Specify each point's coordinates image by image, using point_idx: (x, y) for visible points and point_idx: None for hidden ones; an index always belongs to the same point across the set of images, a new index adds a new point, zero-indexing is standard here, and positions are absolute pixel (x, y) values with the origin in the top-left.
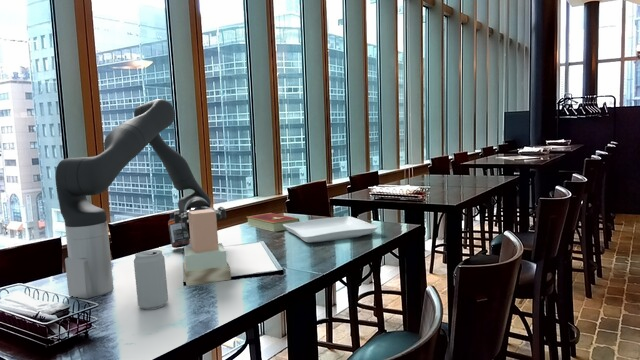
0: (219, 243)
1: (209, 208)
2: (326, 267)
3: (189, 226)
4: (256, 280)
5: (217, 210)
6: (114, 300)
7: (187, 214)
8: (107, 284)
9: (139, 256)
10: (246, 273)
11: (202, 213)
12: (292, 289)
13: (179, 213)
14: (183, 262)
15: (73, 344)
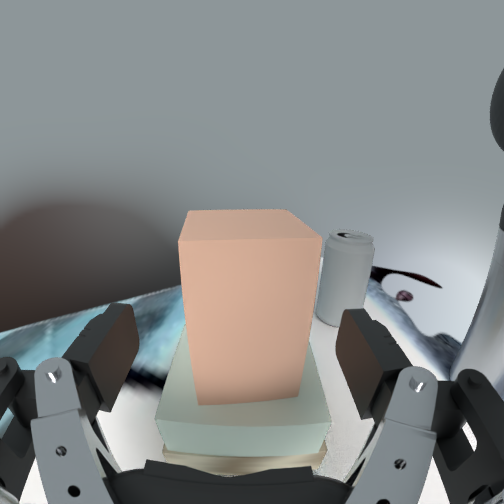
0: (164, 419)
1: (80, 431)
2: (20, 336)
3: (309, 312)
4: (144, 348)
5: (57, 365)
6: (414, 345)
7: (382, 418)
8: (456, 359)
9: (358, 231)
10: (136, 396)
11: (245, 211)
12: (128, 299)
13: (497, 494)
14: (324, 449)
15: (378, 273)
